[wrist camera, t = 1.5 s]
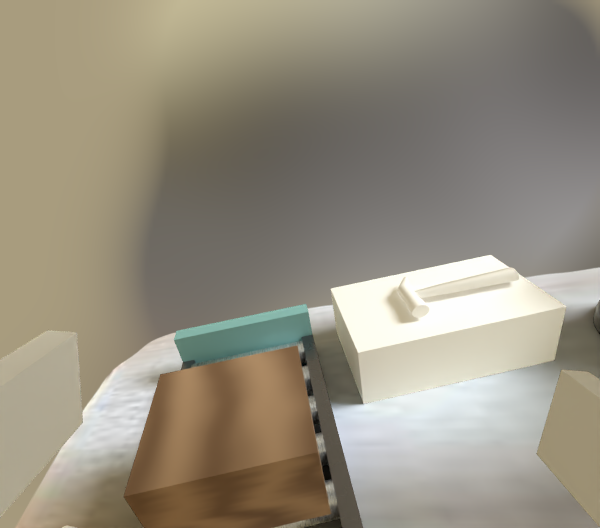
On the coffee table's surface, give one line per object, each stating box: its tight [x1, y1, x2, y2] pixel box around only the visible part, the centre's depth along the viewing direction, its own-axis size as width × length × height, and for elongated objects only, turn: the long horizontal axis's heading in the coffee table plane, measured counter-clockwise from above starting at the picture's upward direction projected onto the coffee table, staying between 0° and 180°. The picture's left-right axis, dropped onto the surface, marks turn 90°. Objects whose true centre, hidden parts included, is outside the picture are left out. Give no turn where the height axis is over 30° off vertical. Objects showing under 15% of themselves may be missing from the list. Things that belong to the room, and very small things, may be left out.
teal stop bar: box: [174, 304, 312, 363], centre depth 52 cm, size 19×2×8 cm, turn 98°
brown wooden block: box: [124, 346, 331, 528], centre depth 33 cm, size 14×12×8 cm
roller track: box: [181, 335, 363, 528], centre depth 41 cm, size 19×28×4 cm, turn 8°
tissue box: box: [331, 255, 566, 404], centre depth 49 cm, size 14×25×11 cm, turn 98°
